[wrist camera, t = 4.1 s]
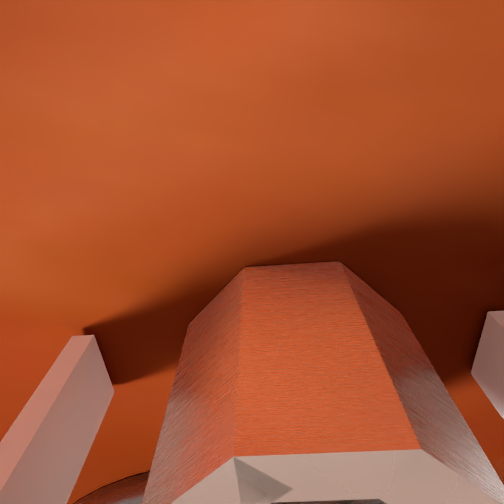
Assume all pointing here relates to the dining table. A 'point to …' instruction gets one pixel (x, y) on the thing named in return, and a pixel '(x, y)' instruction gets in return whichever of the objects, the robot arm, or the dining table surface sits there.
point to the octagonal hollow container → (311, 402)
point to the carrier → (119, 492)
